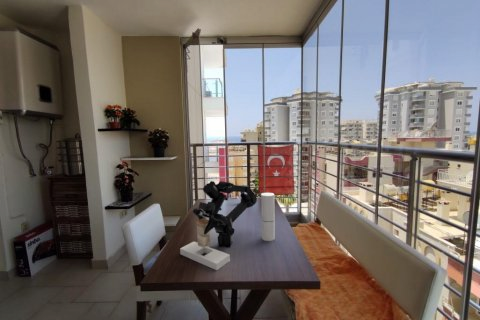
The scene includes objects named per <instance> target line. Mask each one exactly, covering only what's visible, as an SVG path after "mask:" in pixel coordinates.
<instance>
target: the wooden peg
mask: <svg viewBox="0 0 480 320" xmlns="http://www.w3.org/2000/svg"><path fill="white" fill-rule="evenodd" d="M208 223H209V219H208V218H207V219H200V220H199V219H198V220H197V221H196V232H197V233H196V234H197V235H196V237H197V243H198V246H200V247H203V248H205V247H206V246H208V247H209V246H210V245H211V239H210V231H209V232H208V233H207V234H204V231H205V229H206V227H207V225H208Z"/></svg>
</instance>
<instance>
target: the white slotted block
mask: <svg viewBox="0 0 480 320" xmlns="http://www.w3.org/2000/svg"><path fill="white" fill-rule="evenodd" d="M179 249H180V250H179V253H180V255H181V256H183V257H186V258H188V259H190V260H192V261H195V262H196V263H197V262H198V263H199V264H202V265H204V266H205V267H209V268H211V269H212V270H215V271H218V270H220V269H221V268H222V267H224V266H226V264H228V263H230V261H231V255H230V254H229V253H226V252H224V251H221V250H218V249H216V248H212V247H211V246H209V245H208V246H206V247H205V248H203V247H200V246H198V241H191V242H190V243H188V244H186V245H184V246H182V247H181V248H179ZM203 254H205V255H203Z"/></svg>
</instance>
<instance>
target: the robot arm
mask: <svg viewBox="0 0 480 320" xmlns="http://www.w3.org/2000/svg"><path fill="white" fill-rule="evenodd" d="M202 192H203V193H205V195H206V196H207V197H208V198H209V199H211V201H208V202H207V203H206V202H201V201H200V202H199V204H198V208H194V209H193V210H192V214H193V215H195V216H196V217H197V218H198V220H200V219H206V218H207V219H208V220H209V223H208V225H207V227H206V229H205V231H204V234H207V233H208V232H209V233H210V232H211V230H213V229H214V230H215V232H216V234H218V236H217V244H218V246H217V248H231V246H232V245H233V242H234V241H233V239H232V236H233V235H234V234H235V229H234V227H233V224H234V222H235V221H236V220H237V219H238V218H239V217H240V216H241V215H242V214H243V213H244V212H245V211H246V209H249V208H251V207H253V206H255V205H256V204H257V201H258V199H257V196H256V193H255V192H254V191H253V190H252V189H251V187H250V186H249V185H244V184H242V185H241V184H240V185H239V184H234V183H232V182H230V181H223V180H220V181H219V182H218V183H217V184H216V182H215V181H214V180H210V182H207V183H206V184H205V185H204V186H203V188H202ZM233 192H237V193H239V192H241V195H240V194H239V196H240V197H241V201H240V202H239V203H238V204H237V205H236V206H235V207H234V208H233V209H232V210H231V211H230V212H229V213H227V215H226V216H225V215H223V214H221V213H219V212H220V211H222V210H223V209H222V206H223V203H224V202H225V201H228V200H229V199H228V195H227V194H232V193H233ZM244 192H245V193H247V194H245V193H244Z"/></svg>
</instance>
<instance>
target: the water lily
mask: <svg viewBox="0 0 480 320" xmlns="http://www.w3.org/2000/svg"><path fill="white" fill-rule="evenodd" d="M238 193H239V195H237V196H236V198H237V199H238V201H240V202H241V196H240V195H241V192H238ZM244 193H245V192H244ZM245 194H247V193H245Z"/></svg>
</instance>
